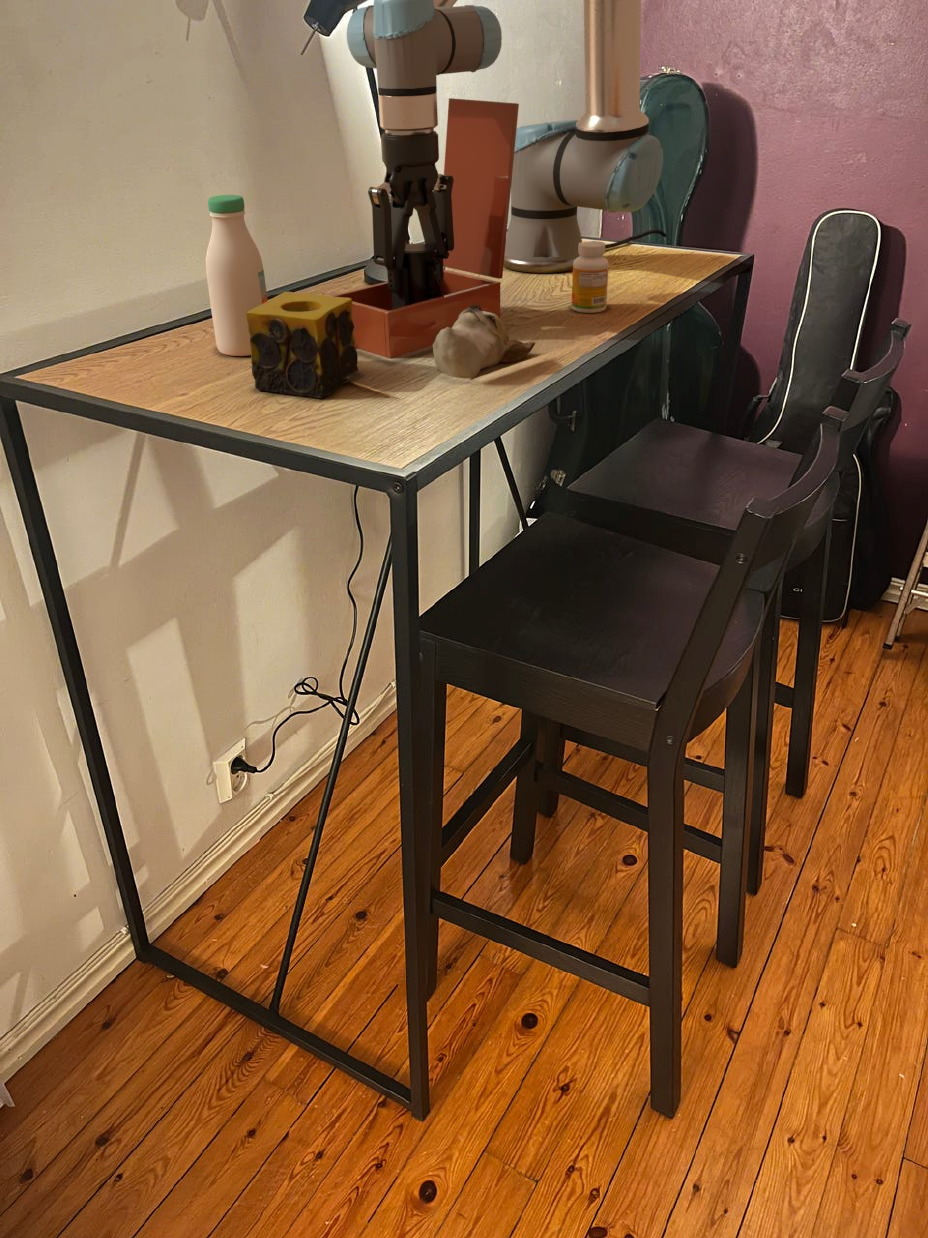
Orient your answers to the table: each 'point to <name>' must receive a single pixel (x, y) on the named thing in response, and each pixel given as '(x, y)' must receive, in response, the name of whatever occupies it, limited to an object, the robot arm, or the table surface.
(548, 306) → the table surface
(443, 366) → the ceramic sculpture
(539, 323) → the table surface
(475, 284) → the reddish-brown box
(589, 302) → the supplement bottle
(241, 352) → the milk bottle
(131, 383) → the table surface
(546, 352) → the table surface
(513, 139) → the lid
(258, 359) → the candle
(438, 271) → the silver-capped dark cylinder
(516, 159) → the robot arm
